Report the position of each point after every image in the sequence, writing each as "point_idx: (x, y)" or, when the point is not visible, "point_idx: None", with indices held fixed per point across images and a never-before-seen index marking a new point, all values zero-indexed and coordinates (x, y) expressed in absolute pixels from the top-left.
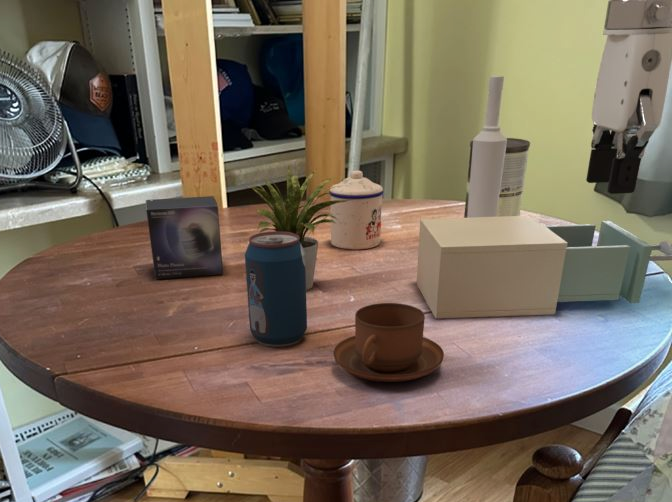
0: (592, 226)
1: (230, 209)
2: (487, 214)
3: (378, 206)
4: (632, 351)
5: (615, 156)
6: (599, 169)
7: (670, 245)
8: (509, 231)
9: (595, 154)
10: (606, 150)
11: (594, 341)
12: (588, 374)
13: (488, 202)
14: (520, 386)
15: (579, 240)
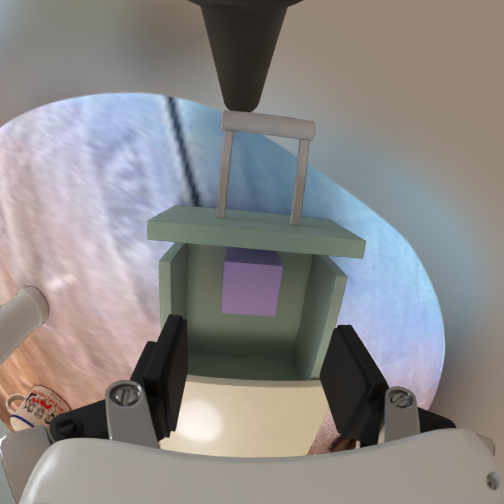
0: (171, 268)
1: (3, 421)
2: (21, 327)
3: (40, 420)
4: (420, 288)
5: (172, 366)
6: (181, 375)
7: (256, 124)
8: (249, 428)
9: (175, 422)
10: (166, 407)
11: (390, 313)
12: (432, 339)
13: (13, 337)
14: (421, 381)
15: (177, 279)
